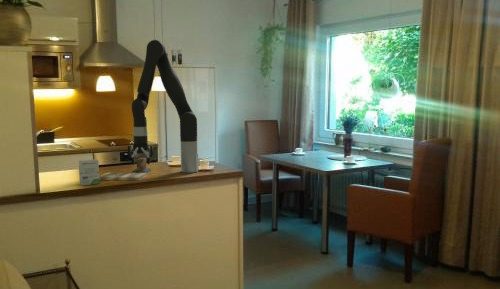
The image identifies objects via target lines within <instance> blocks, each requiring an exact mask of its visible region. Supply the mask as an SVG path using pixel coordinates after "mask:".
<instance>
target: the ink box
mask: <svg viewBox="0 0 500 289" xmlns="http://www.w3.org/2000/svg"><path fill="white" fill-rule="evenodd" d="M78 171H79V173H78V174H79V185H80V186H90V185H91V186H92V185H99V184H100V180H99V176H100V167H99V160H98V159H82V160H78Z"/></svg>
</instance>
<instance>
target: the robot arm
mask: <svg viewBox="0 0 500 289" xmlns="http://www.w3.org/2000/svg"><path fill="white" fill-rule="evenodd" d="M156 68H157V69H158V73H159V76H160V80H161V82H162V86H163V88H164V91H165V92H166V94H167V96H168V98H169V99H170V102H172V104H173V105H174V108H175V109H176V112H177V115H178V118H179V133H180V134H179V137H180V170H181V171H180V172H182V173H188V174H189V173H190V174H191V173H198V171H199V153H198V118H197V116H196V115H195V113H194V112H193V110H192V108H191V106H190V104H189V103H188V100H187V97H186V94H185V90H184V88H183V85H182V83H181V81H180V79H179V78H180V77H178V75H177V73H176V70H175V69H174V67H173V66H172V64H171V62H170V59H169V57H168V54H167V50H166V47H165V45H164V43H163V42H161V41H159V40H157V39H153V40H150V41H148V43H147V44H146V50H145V60H144V65H143V69H142V72H141V76H140V78H139V82H138V85H137V90H136V92H137V95H136V98H135V99H133V101H132V103H131V112H132V117H133V128H132V129H133V130H132V131H133V132H132V135H133V136H132V137H133V145H131V144H130V145H128V146H127V156H128V157H129V158H131V164H132V165H136V156H137V154H144V155H145V156H146V165H150V164H151V160H152V157H154V156H155V151H154V150H155V149H154V145H149V144H148V140H149V139H148V127H147V126H148V125H147V124H148V123H147V122H148V120H147V117H146V113H145V112H146V111H145V110H146V109H147V107H148V105H149V100H150V94H151V91H152V87H153V83H154V79H155V73H156ZM133 149H134V150H133ZM148 149H149V151H148ZM132 150H133V151H132Z"/></svg>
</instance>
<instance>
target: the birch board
mask: <svg viewBox="0 0 500 289" xmlns="http://www.w3.org/2000/svg"><path fill="white" fill-rule="evenodd" d="M146 177H148V173H132V172H106V173H104V174H101V175H99V181H142V180H143V179H144V178H146Z"/></svg>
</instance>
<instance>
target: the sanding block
mask: <svg viewBox="0 0 500 289" xmlns="http://www.w3.org/2000/svg"><path fill="white" fill-rule="evenodd" d="M135 163H136V169H133V170H132V171H131V173H147V174H148V173H150V172H151V171H152V170H151V167H147V157H140V158H137V159H135Z"/></svg>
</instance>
